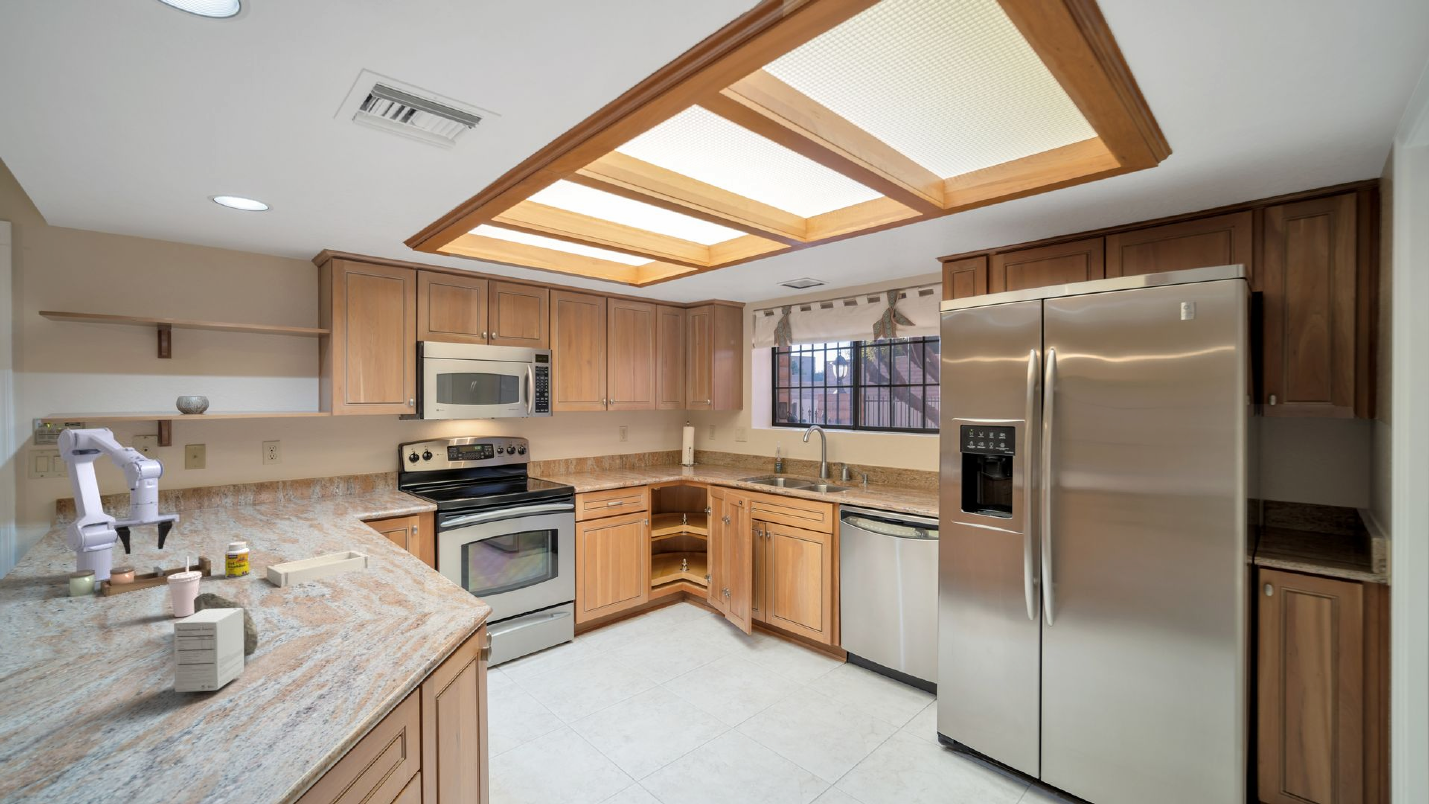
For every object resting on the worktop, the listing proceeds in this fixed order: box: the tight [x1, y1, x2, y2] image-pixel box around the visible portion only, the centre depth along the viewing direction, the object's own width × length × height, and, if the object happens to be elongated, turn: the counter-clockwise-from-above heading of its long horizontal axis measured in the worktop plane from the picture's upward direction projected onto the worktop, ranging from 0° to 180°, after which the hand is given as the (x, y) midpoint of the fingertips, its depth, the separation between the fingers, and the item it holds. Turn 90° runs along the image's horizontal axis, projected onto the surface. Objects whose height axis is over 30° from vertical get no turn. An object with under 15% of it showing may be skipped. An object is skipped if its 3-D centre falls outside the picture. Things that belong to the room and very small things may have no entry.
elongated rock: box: [194, 592, 259, 658], centre depth 127 cm, size 35×5×10 cm, turn 56°
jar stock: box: [109, 565, 135, 586], centre depth 163 cm, size 5×5×6 cm
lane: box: [99, 555, 212, 598], centre depth 169 cm, size 9×22×5 cm, turn 143°
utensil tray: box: [266, 549, 371, 588], centre depth 178 cm, size 12×23×4 cm, turn 143°
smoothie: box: [167, 555, 202, 618], centre depth 145 cm, size 6×6×14 cm
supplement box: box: [173, 608, 245, 693], centre depth 110 cm, size 7×7×13 cm
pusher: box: [152, 566, 166, 578], centre depth 169 cm, size 6×2×4 cm, turn 53°
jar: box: [68, 570, 96, 598], centre depth 160 cm, size 5×5×6 cm
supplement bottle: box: [224, 541, 250, 580], centre depth 175 cm, size 6×6×10 cm
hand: (144, 551), depth 167 cm, fingers open, 6 cm apart
